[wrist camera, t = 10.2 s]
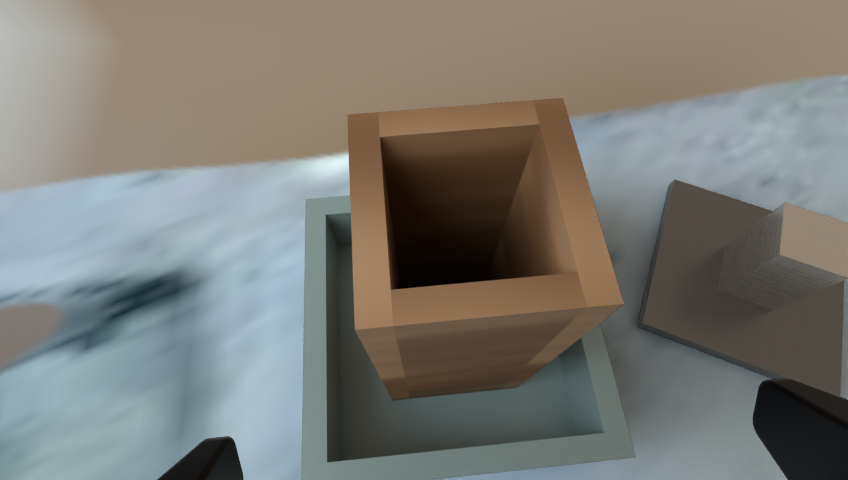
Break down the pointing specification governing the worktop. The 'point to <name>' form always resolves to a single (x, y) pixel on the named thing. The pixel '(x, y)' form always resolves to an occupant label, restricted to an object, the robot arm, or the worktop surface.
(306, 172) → the worktop surface
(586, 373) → the tray
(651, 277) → the stake base
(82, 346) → the worktop surface
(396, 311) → the sleeve
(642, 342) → the worktop surface
